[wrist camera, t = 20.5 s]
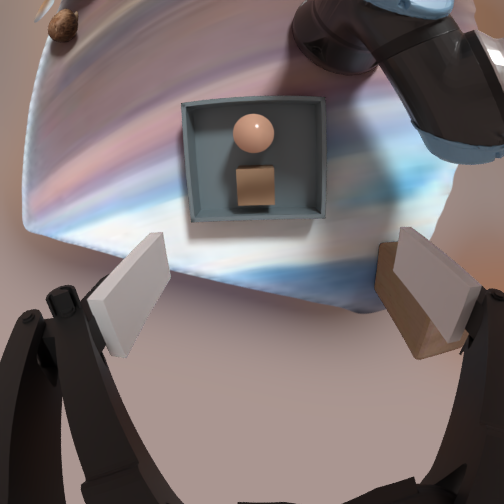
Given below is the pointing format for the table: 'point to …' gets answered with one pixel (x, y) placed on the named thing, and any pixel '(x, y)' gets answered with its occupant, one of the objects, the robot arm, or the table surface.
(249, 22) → the table surface
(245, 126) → the peach colored egg
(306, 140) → the tote
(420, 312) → the wooden block
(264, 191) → the walnut cube
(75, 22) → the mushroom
